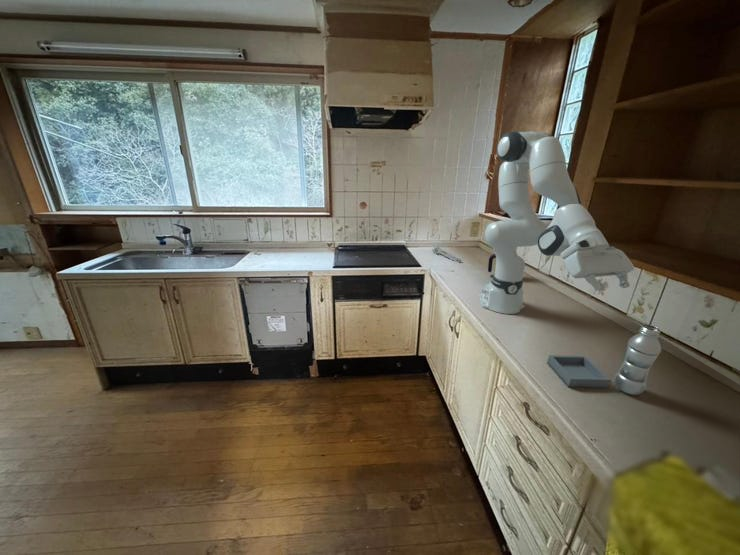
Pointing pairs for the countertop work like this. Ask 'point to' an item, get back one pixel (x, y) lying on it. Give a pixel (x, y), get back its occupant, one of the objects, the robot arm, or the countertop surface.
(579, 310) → the countertop surface
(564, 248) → the robot arm
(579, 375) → the holder
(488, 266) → the milk frother
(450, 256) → the wrench
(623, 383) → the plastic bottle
